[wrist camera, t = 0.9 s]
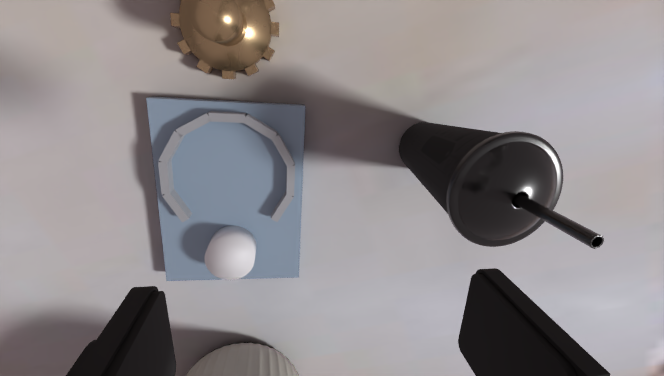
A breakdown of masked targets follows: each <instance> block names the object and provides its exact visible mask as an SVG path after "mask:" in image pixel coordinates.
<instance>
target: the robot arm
mask: <svg viewBox="0 0 664 376" xmlns="http://www.w3.org/2000/svg"><path fill="white" fill-rule="evenodd" d="M458 343H459V348H460V351H461V353H462V354H463V356H464V357H465V359H466V361H467V362H468V364H469V365H470V367H471V369H472V370H473V372H474V373H475V375H476V376H610V373H609V372H608V371H607V370H605V369H604V368H603V367H602V366H601V365H600V364H599V363H598V362H597V361H596V360H595V359H594V358H593V357H592V356H591V355H589V354H588V353H587V352H586V351H585V350H584V349H583V348H582V347H581V346H580V345H579V344H578V343H577V342H576V341H575V340H573V339H572V338H571V337H570V336H569V335H568V334H567V333H566V332H565V331H564V330H563V329H562V328H561V327H560V326H559V325H557V324H556V323H555V322H554V321H553V320H552V319H551V318H550V317H549V316H548V315H547V314H546V313H545V312H544V311H543V310H542V309H540V308H539V307H538V306H537V305H536V304H535V303H534V302H533V301H532V300H531V299H530V298H529V297H528V296H527V295H526V294H524V293H523V292H522V291H521V290H520V289H519V288H518V287H517V286H516V285H515V284H514V283H513V282H512V281H511V280H510V279H508V278H507V277H506V276H505V275H504V274H503V273H502V272H501V271H500V270H498V269H480V270H478V271H477V272H476V274H474V275H473V276H472V278H471V282H470V286H469V291H468V296H467V301H466V306H465V310H464V315H463V320H462V325H461V329H460V334H459V339H458ZM175 372H176V361H175V355H174V348H173V342H172V336H171V330H170V323H169V317H168V311H167V305H166V298H165V294H164V292H163V291H158V289H157V287H155V286H150V287H134V288H132V289H131V290H130V292H129V293H128V295H127V296H126V297H125V299H124V300H123V302H122V303H121V305H120V306H119V308H118V309H117V311H116V312H115V314H114V315H113V317H112V318H111V320H110V321H109V323H108V324H107V325H106V327H105V328H104V330H103V331H102V333H101V334H100V336H99V337H98V339H97V340H94V341H92V342H90V343H89V344H88V346H87V347H86V348H85V349H84V351H83V352H82V353H81V355H80V356H79V358H78V359H77V361H76V362H75V363H74V365H73V366H72V368H71V369H70V371H69V372H68V373H67V375H66V376H175Z"/></svg>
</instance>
